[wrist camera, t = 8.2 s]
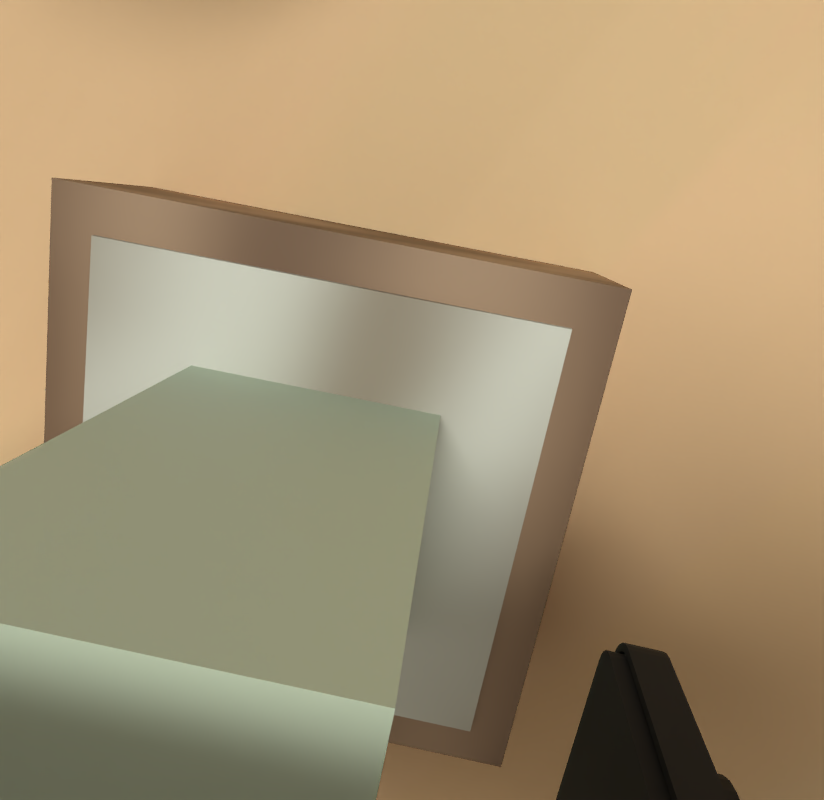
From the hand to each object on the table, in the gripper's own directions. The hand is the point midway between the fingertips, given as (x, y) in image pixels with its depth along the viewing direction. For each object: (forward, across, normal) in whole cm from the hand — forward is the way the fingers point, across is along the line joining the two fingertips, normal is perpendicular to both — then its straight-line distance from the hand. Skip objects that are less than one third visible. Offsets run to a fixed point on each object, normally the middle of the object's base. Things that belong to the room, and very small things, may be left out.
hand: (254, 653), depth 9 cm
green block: (+5, +1, 0) cm, 5 cm away
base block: (+9, +1, 0) cm, 9 cm away
